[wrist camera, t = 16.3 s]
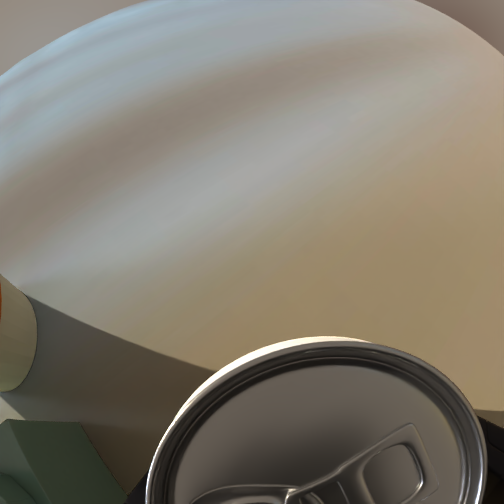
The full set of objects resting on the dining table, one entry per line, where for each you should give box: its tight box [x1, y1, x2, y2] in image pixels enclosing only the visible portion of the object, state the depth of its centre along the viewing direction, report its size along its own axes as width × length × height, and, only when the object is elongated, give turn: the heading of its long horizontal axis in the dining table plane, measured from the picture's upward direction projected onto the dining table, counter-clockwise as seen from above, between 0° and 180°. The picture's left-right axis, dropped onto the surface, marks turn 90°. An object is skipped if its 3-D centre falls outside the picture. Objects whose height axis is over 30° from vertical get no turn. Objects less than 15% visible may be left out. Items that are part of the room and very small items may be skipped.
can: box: [146, 336, 488, 504], centre depth 9 cm, size 6×6×12 cm
